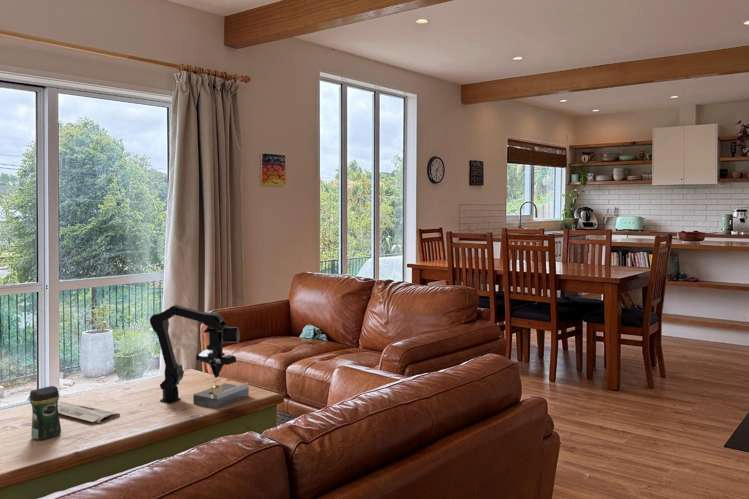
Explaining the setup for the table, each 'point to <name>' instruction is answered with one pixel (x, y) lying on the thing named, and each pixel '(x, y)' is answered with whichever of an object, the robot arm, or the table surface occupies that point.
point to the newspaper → (84, 412)
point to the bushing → (216, 389)
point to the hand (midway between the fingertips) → (216, 377)
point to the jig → (222, 395)
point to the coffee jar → (45, 413)
